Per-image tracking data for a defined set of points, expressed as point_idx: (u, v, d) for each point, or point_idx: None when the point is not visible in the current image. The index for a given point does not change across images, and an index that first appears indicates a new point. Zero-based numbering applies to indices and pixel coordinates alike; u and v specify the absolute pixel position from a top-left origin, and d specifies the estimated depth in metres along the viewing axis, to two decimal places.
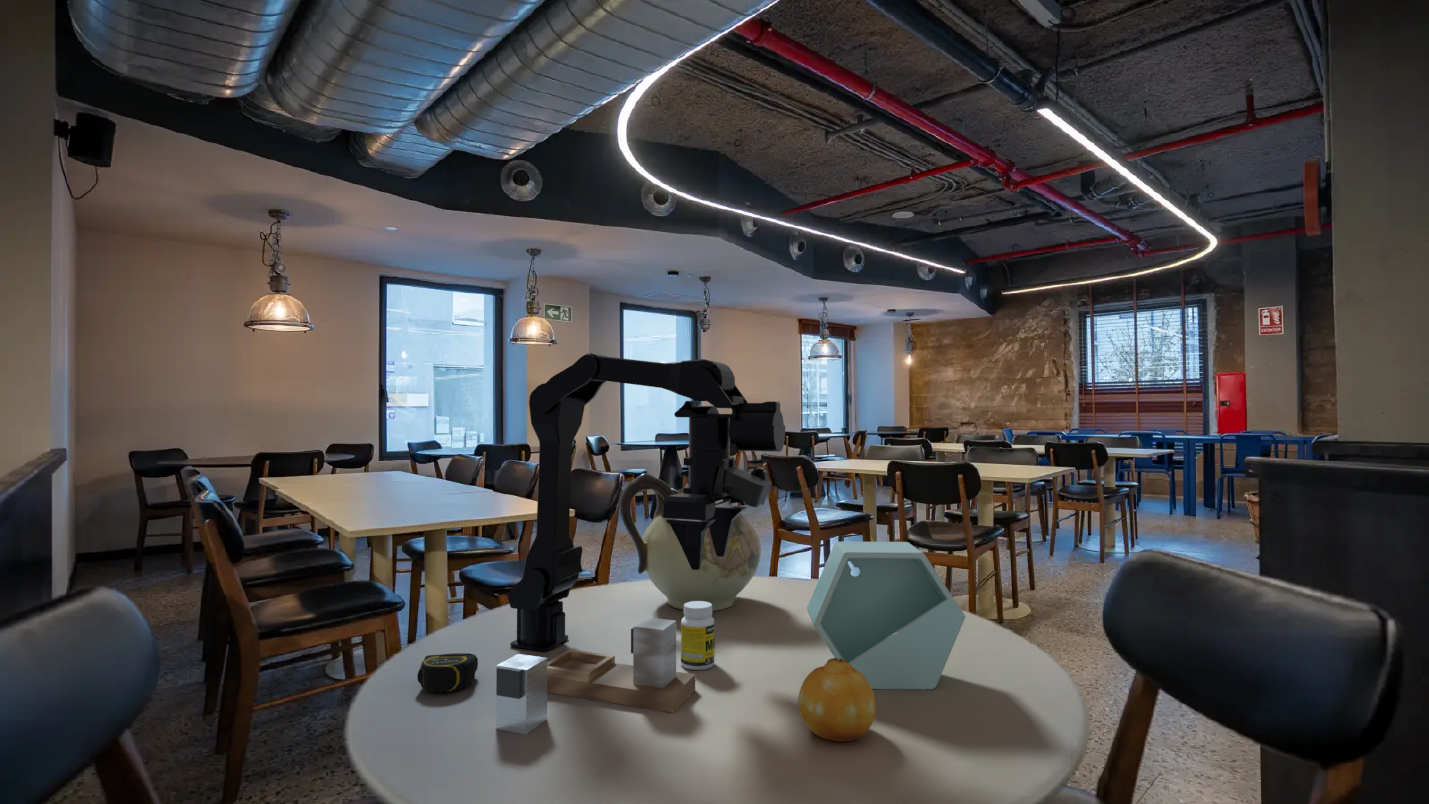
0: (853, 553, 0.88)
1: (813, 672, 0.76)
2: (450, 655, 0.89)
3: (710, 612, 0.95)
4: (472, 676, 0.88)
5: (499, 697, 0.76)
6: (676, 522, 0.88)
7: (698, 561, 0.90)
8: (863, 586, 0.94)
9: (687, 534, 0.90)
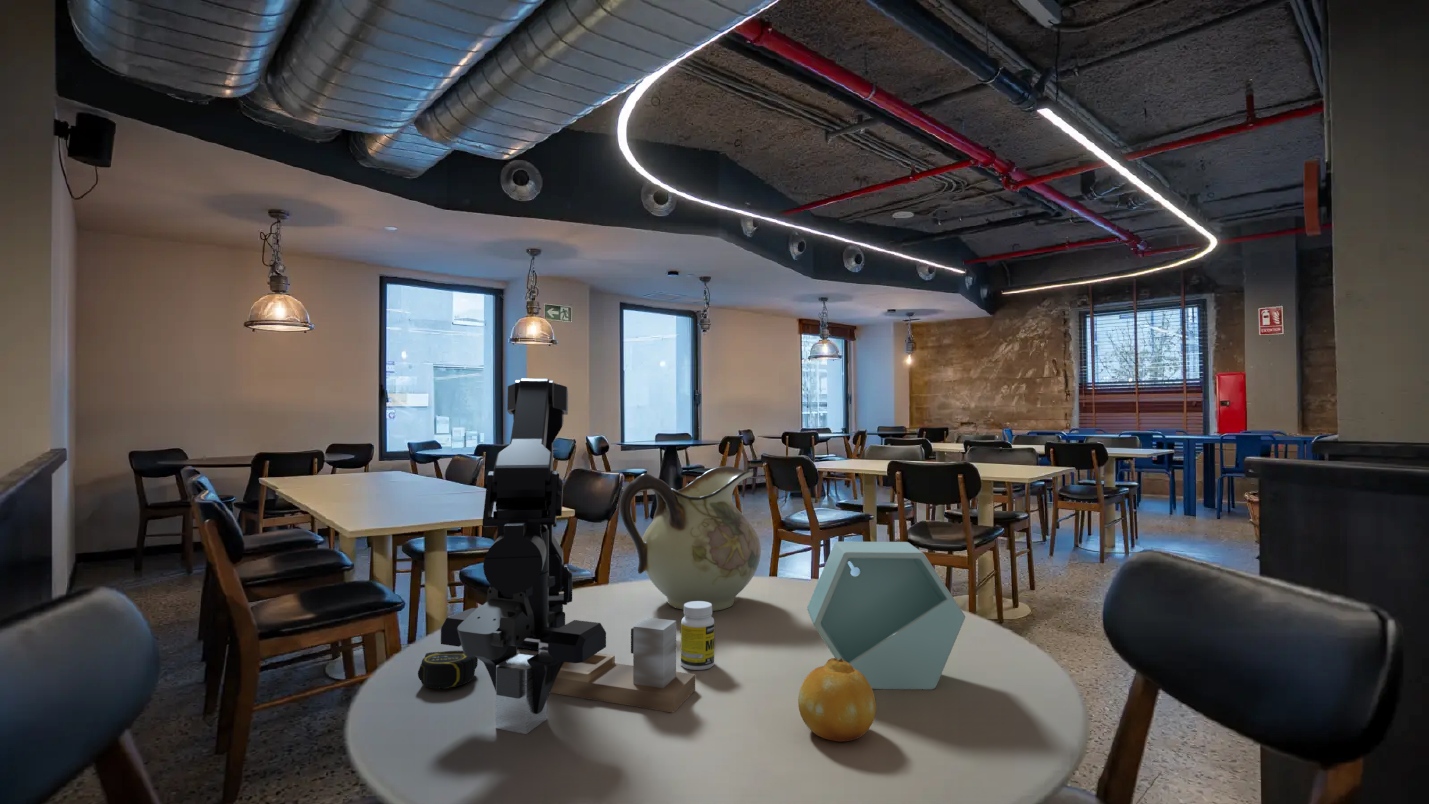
0: (853, 553, 0.88)
1: (813, 672, 0.76)
2: (450, 652, 0.91)
3: (710, 612, 0.95)
4: (472, 673, 0.89)
5: (499, 697, 0.76)
6: None
7: None
8: (863, 586, 0.94)
9: None
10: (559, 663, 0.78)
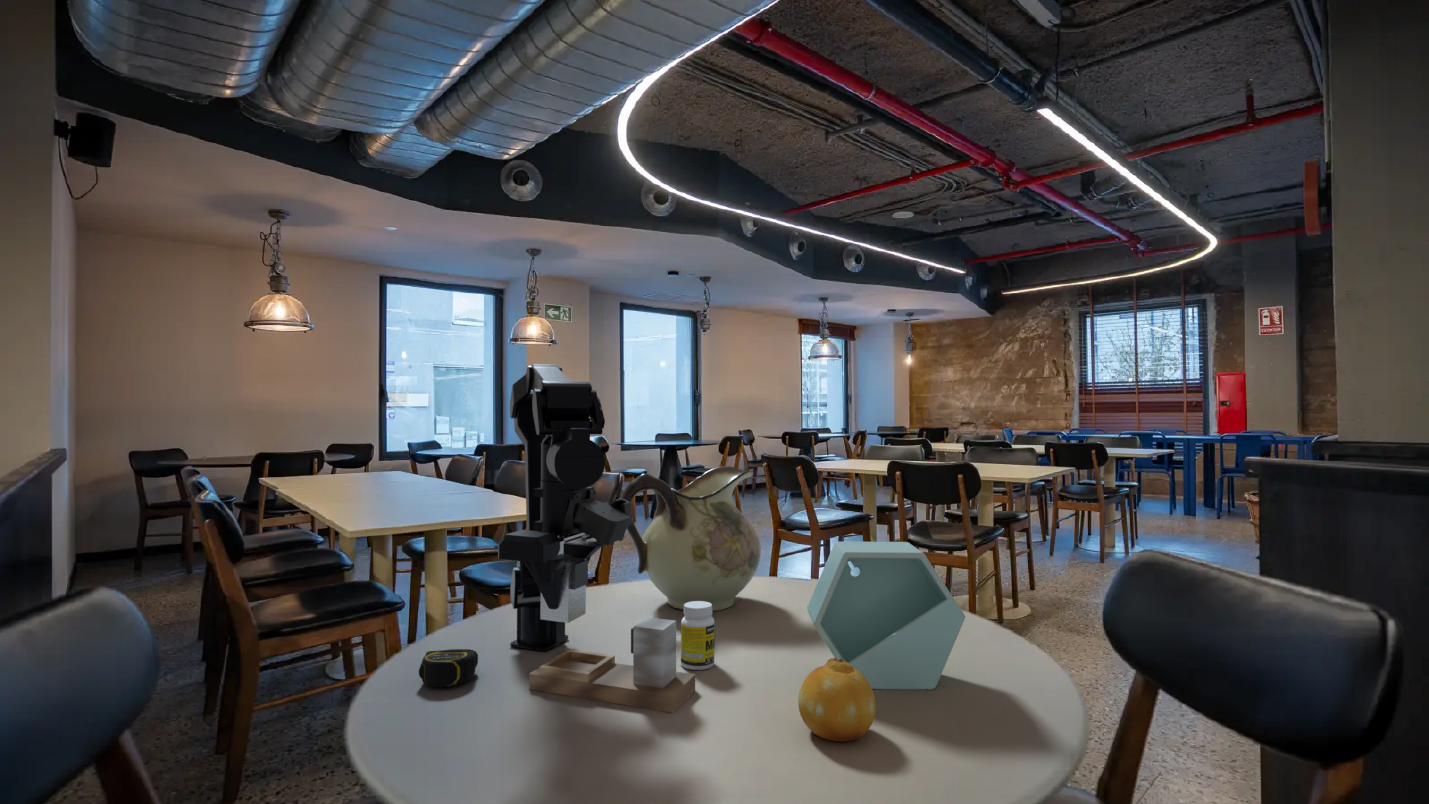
0: (853, 553, 0.88)
1: (813, 672, 0.76)
2: (451, 651, 0.91)
3: (710, 612, 0.95)
4: (472, 671, 0.89)
5: (570, 593, 0.84)
6: None
7: (555, 600, 0.83)
8: (863, 586, 0.94)
9: (543, 571, 0.83)
10: None
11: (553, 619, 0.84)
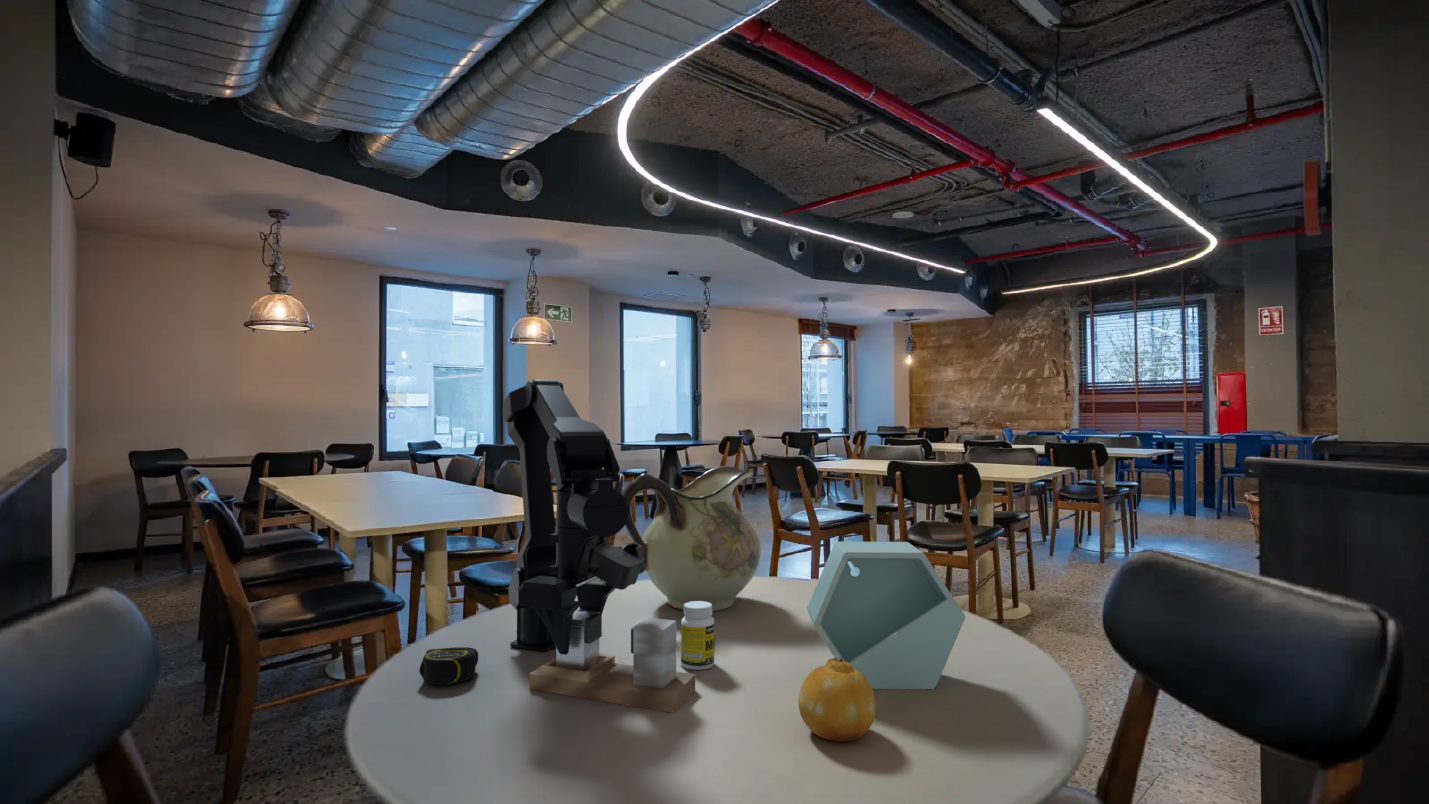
0: (853, 553, 0.88)
1: (813, 672, 0.76)
2: (451, 649, 0.92)
3: (710, 612, 0.95)
4: (473, 669, 0.90)
5: (585, 647, 0.87)
6: None
7: (565, 646, 0.85)
8: (863, 586, 0.94)
9: (554, 617, 0.85)
10: None
11: None
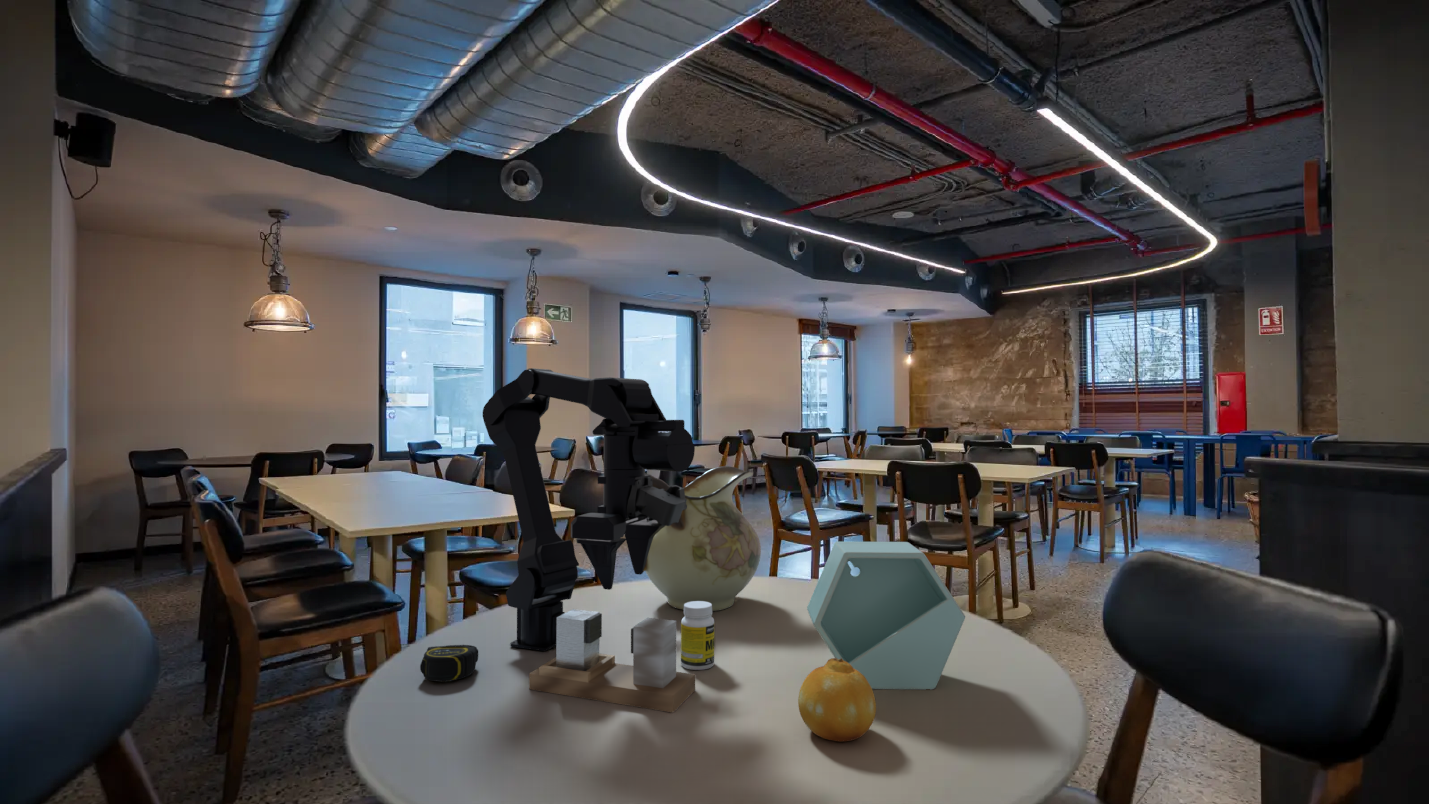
0: (853, 553, 0.88)
1: (813, 672, 0.76)
2: (452, 646, 0.93)
3: (710, 612, 0.95)
4: (473, 667, 0.91)
5: (585, 647, 0.87)
6: (586, 542, 0.87)
7: (609, 581, 0.89)
8: (863, 586, 0.94)
9: (599, 553, 0.89)
10: None
11: None
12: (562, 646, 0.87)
